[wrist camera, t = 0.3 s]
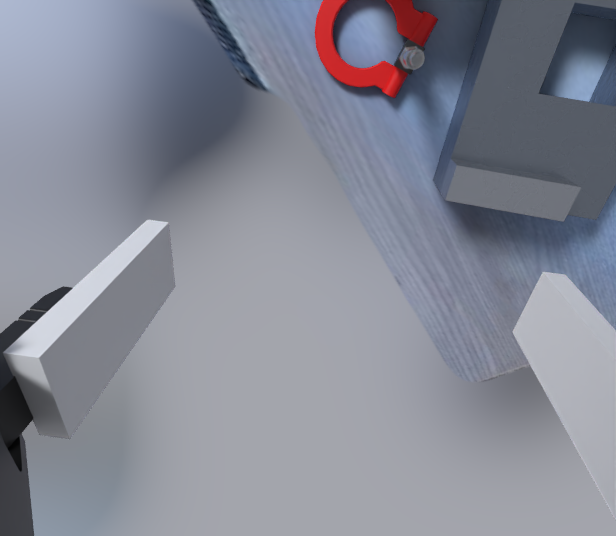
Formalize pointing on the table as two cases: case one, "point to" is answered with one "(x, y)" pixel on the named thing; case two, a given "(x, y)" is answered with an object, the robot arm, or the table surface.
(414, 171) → the table surface
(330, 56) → the tow hook
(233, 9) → the table surface
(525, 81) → the jig
